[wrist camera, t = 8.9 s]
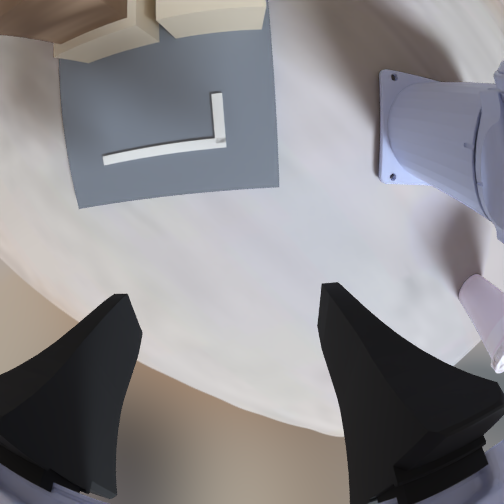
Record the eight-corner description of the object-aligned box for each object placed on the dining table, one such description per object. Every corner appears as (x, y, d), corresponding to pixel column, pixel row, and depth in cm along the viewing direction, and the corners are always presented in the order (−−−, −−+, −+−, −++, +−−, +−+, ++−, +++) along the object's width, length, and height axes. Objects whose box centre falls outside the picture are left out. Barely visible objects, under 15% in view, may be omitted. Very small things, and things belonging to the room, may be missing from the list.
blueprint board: (262, -36, 10) (267, -74, 6) (277, 183, 18) (288, 208, 13) (68, 9, 10) (29, -5, 6) (85, 204, 18) (48, 232, 14)
